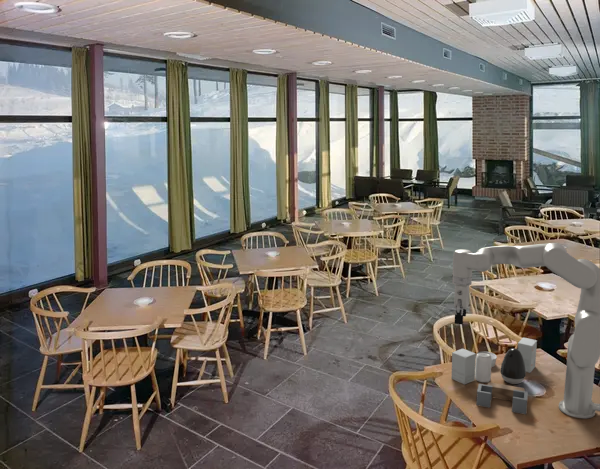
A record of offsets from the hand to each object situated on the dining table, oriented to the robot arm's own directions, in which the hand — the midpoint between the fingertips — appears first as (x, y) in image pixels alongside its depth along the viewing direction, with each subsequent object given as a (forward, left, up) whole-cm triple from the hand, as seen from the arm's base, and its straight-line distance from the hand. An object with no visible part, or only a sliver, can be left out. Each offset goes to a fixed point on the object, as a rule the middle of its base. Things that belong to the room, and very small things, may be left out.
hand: (460, 319), depth 217 cm
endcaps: (-18, +7, -31) cm, 37 cm away
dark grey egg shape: (-21, -16, -31) cm, 41 cm away
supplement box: (-1, -10, -32) cm, 33 cm away
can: (-9, -13, -31) cm, 35 cm away
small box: (-26, -32, -32) cm, 52 cm away
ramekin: (-9, -30, -32) cm, 44 cm away
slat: (-19, 0, -32) cm, 37 cm away
